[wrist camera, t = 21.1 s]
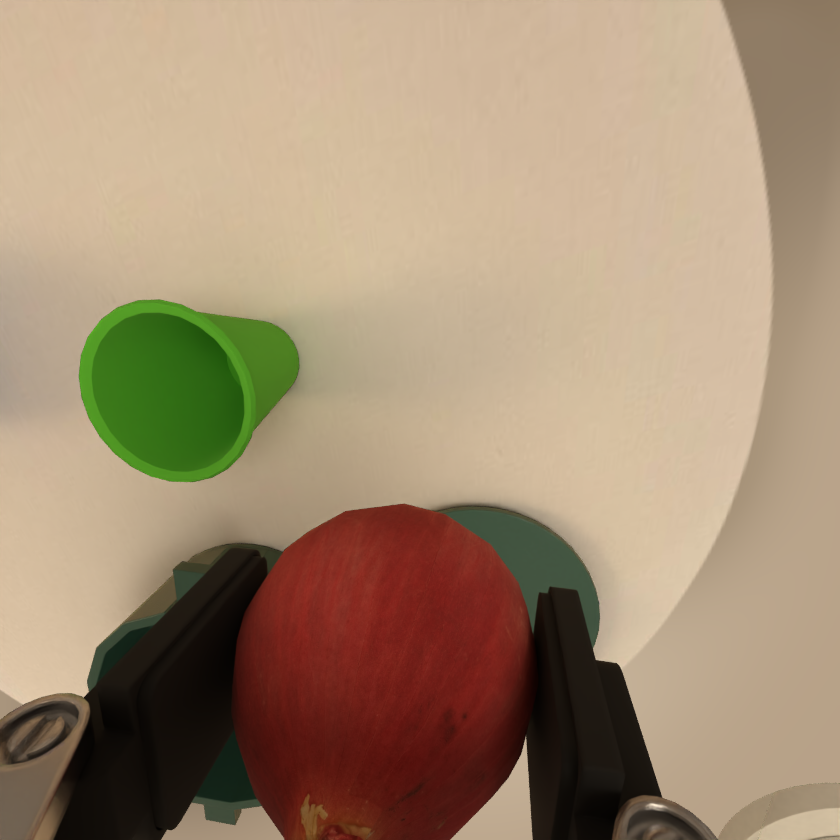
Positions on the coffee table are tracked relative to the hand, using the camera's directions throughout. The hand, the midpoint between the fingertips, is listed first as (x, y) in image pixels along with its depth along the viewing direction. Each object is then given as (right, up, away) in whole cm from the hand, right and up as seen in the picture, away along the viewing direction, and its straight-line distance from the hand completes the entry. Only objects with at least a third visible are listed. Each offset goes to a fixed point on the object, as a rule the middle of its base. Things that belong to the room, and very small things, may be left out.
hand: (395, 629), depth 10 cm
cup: (-10, +9, +23) cm, 27 cm away
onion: (+1, +1, +3) cm, 3 cm away
